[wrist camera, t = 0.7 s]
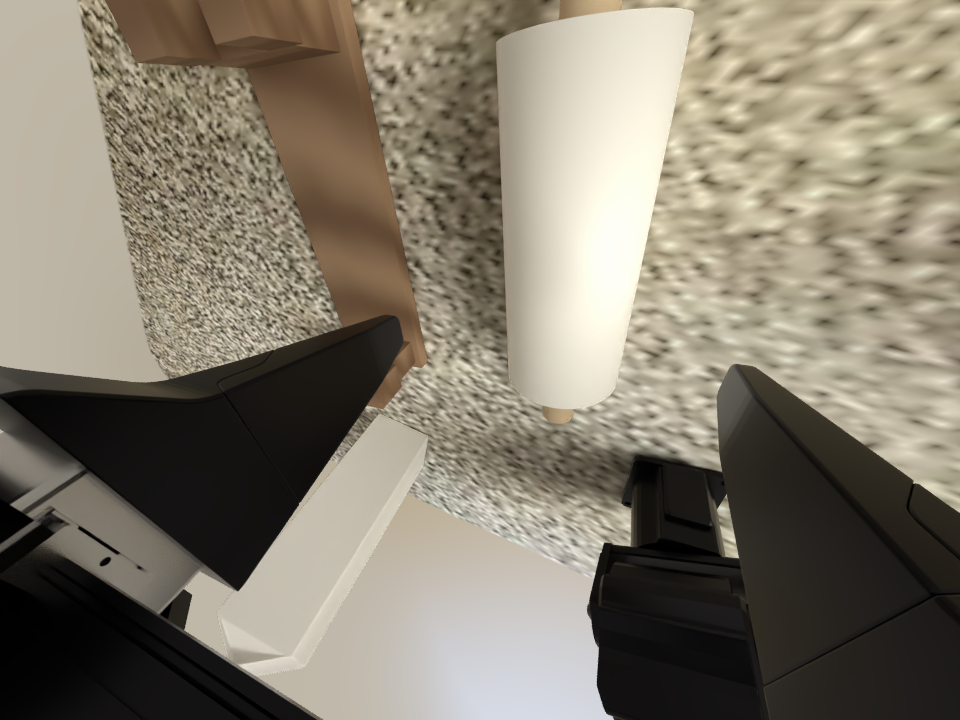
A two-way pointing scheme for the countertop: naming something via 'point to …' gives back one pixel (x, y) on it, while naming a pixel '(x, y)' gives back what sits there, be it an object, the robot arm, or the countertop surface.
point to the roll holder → (306, 137)
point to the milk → (321, 553)
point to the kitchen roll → (581, 188)
